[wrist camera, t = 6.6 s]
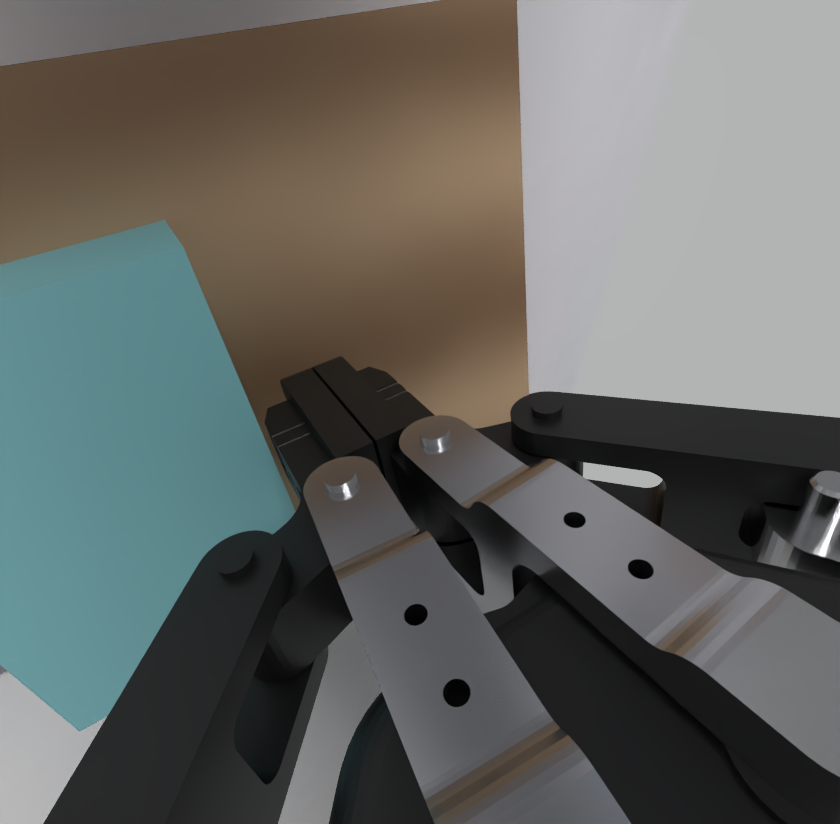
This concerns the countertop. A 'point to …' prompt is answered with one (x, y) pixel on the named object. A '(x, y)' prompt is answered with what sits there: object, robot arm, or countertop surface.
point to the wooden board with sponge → (304, 190)
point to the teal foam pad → (114, 459)
